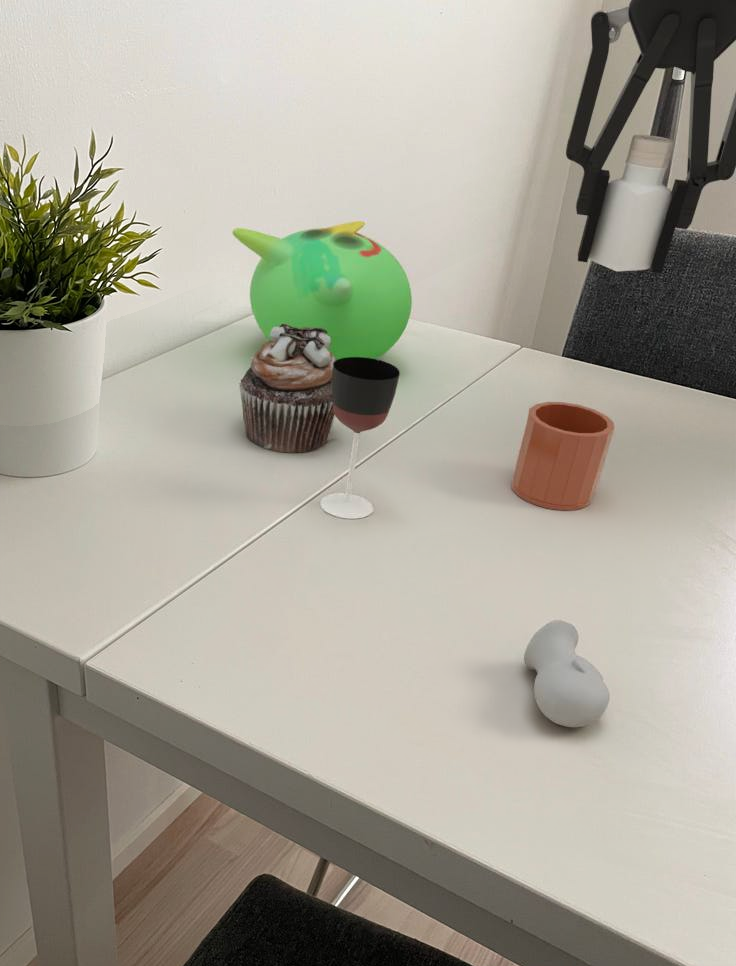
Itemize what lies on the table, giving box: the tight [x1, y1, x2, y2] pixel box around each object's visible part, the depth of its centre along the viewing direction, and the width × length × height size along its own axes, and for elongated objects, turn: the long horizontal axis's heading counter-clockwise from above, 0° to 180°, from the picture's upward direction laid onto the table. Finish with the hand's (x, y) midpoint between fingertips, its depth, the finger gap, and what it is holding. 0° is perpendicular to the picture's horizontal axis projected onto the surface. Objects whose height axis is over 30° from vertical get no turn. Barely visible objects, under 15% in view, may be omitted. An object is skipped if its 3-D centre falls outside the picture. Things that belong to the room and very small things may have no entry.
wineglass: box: [319, 357, 401, 520], centre depth 81 cm, size 5×5×12 cm
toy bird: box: [232, 221, 413, 360], centre depth 108 cm, size 18×17×15 cm
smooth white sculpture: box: [523, 619, 610, 728], centre depth 64 cm, size 4×8×5 cm
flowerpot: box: [510, 401, 615, 511], centre depth 88 cm, size 7×7×7 cm
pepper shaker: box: [588, 134, 675, 272], centre depth 79 cm, size 4×4×10 cm
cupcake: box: [238, 324, 336, 454], centre depth 92 cm, size 10×10×10 cm
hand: (618, 262), depth 82 cm, fingers closed on pepper shaker, 5 cm apart
